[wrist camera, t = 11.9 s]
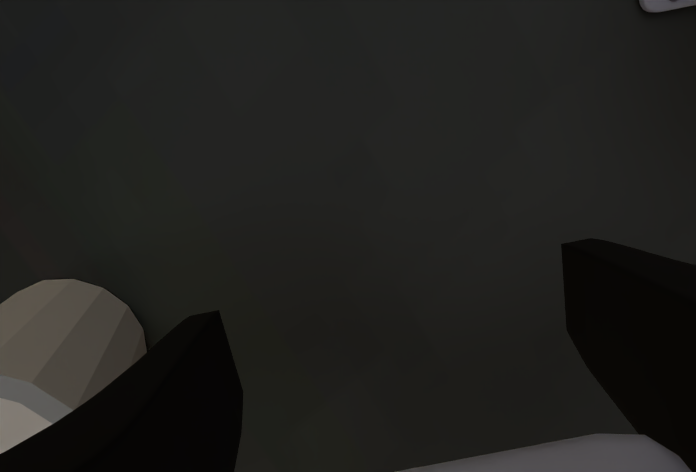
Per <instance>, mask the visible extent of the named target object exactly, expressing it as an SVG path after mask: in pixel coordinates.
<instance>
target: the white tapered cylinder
mask: <svg viewBox="0 0 696 472" xmlns="http://www.w3.org/2000/svg"><path fill="white" fill-rule="evenodd" d="M146 353H147V349H146V343H145V337H144V331H143V328H142V326H141V325H140V323H139V322H138V320H137V319H136V317H135V316H134V314H133V312H132V311H131V309H130V308H129V306H128V305H127V304H125V303H124V302H122V301H121V300H120V299H118V298H117V297H115V296H114V295H113V294H111V293H110V292H109V291H107V290H106V289H104V288H102V287H99V286H96V285H92V284H89V283H86V282H82V281H79V280H76V279H59V280H43V281H40V282H38V283H36V284H34V285H32V286H29V287H27V288H25V289H23V290H20V291H18V292H17V293H15V294H14V295H12V296H11V297H10V298H8V299H7V300H6V301H4V302H3V303H2V304H0V454H1V453H3V452H5V451H7V450H9V449H10V448H12V447H14V446H15V445H17V444H19V443H21V442H22V441H24V440H26V439H28V438H29V437H31V436H33V435H35V434H36V433H38V432H40V431H42V430H43V429H45V428H47V427H49V426H50V425H52V424H53V423H55V422H57V421H58V420H60V419H61V418H63V417H64V416H66V415H67V414H69V413H70V412H72V411H73V410H75V409H76V408H78V407H79V406H81V405H82V404H84V403H85V402H86V401H88V400H89V399H90V398H92V397H93V396H95V395H96V394H97V393H99V392H100V391H101V390H102V389H104V388H105V387H106V386H107V385H109V384H110V383H111V382H112V381H113V380H115V379H116V378H117V377H118V376H120V375H121V374H122V373H123V372H125V371H126V370H127V369H128V368H129V367H131V366H132V365H133V364H134V363H135V362H137V361H138V360H139V359H140V358H141V357H142V356H143V355H144V354H146Z"/></svg>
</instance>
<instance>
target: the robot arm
mask: <svg viewBox="0 0 696 472" xmlns="http://www.w3.org/2000/svg"><path fill="white" fill-rule="evenodd" d="M639 3H640V6H641V7H642V9H643V10H645V11H647V12H663V11H668V10H673V9H678V8H683V7H688V6H693V5H696V0H671V1H670V0H639ZM561 248H562V263H563V279H564V295H565V311H566V327H567V331H568V333H569V335H570V337H571V339H572V341H573V343H574V345H575V347H576V348H577V350H578V352H579V354H580V355H581V357H582V359H583V361H584V362H585V364H586V366H587V367H588V369H589V370H590V372H591V373H592V374H593V376H594V377H595V378H596V380H597V381H598V382H599V383H600V385H601V386H602V387H603V389H604V390H605V391H606V393H607V394H608V395H609V396H610V398H611V399H612V400H613V402H614V403H615V404H616V405H617V407H618V408H619V409H620V411H621V412H622V413H623V414H624V416H625V417H626V418H627V420H628V421H629V422H630V423H631V425H632V426H633V427H634V429H635V430H636V431H637V432H638V434H639V435H635V434H599V433H597V434H592V435H586V436H581V437H576V438H571V439H565V440H560V441H555V442H549V443H544V444H539V445H534V446H528V447H523V448H518V449H512V450H507V451H502V452H496V453H491V454H486V455H481V456H475V457H470V458H465V459H459V460H454V461H449V462H444V463H438V464H433V465H428V466H422V467H417V468H412V469H407V470H401V471H396V472H696V265H692V264H688V263H684V262H681V261H677V260H673V259H670V258H666V257H662V256H659V255H655V254H652V253H648V252H645V251H641V250H638V249H634V248H631V247H627V246H624V245H620V244H616V243H613V242H609V241H604V240H599V239H592V238H590V239H585V240H580V241H575V242H569V243H564V244H561ZM242 410H243V390H242V387H241V383H240V380H239V376H238V373H237V370H236V366H235V363H234V360H233V356H232V353H231V350H230V346H229V343H228V339H227V336H226V333H225V329H224V326H223V323H222V319H221V316H220V313H219V310H218V311H213V312H208V313H202V314H197V315H192V316H189V317H188V318H186V319H185V320H183V321H182V322H181V323H180V324H178V325H177V326H176V327H175V328H174V329H173V330H171V331H170V332H169V333H168V334H167V335H166V336H165V337H164V338H162V339H161V340H160V341H159V342H158V343H157V344H156V345H155V346H153V347H152V348H151V349H150V350H149V351H148V352H147V353H146V354H144V355H143V356H142V357H141V358H140V359H139V360H138V361H137V362H135V363H134V364H133V365H132V366H131V367H129V368H128V369H127V370H126V371H125V372H123V373H122V374H121V375H120V376H118V377H117V378H116V379H115V380H113V381H112V382H111V383H110V384H109V385H107V386H106V387H105V388H104V389H102V390H101V391H100V392H99V393H97V394H96V395H95V396H93V397H92V398H90V399H89V400H88V401H86V402H85V403H84V404H82V405H81V406H79V407H78V408H76V409H75V410H73V411H72V412H70V413H69V414H67V415H66V416H64V417H63V418H61V419H60V420H58V421H57V422H55V423H53V424H52V425H50V426H49V427H47V428H45V429H43V430H42V431H40V432H38V433H36V434H35V435H33V436H31V437H29V438H28V439H26V440H24V441H22V442H21V443H19V444H17V445H15V446H14V447H12V448H10V449H9V450H7V451H5V452H3V453H1V454H0V472H234V469H235V464H236V458H237V453H238V448H239V443H240V437H241V429H242Z"/></svg>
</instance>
